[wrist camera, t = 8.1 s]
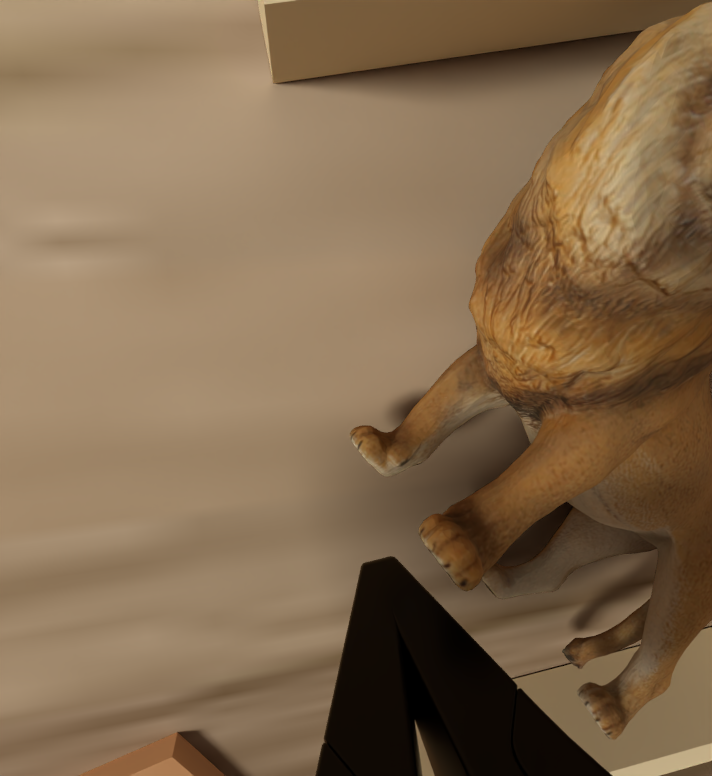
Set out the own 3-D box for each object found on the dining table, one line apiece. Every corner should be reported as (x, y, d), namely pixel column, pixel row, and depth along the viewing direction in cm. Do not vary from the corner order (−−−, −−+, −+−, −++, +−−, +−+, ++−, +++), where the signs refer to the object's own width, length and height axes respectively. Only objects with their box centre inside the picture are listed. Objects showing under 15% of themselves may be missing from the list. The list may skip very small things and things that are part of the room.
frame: (758, 631, 16) (857, 718, 13) (397, 727, 15) (422, 844, 12) (990, -85, 8) (1353, -240, 5) (259, 11, 7) (240, -122, 4)
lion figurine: (340, 537, 3) (1385, -332, 3) (225, 299, 7) (641, -42, 7) (626, 760, 11) (877, 548, 12) (497, 594, 16) (681, 440, 16)
